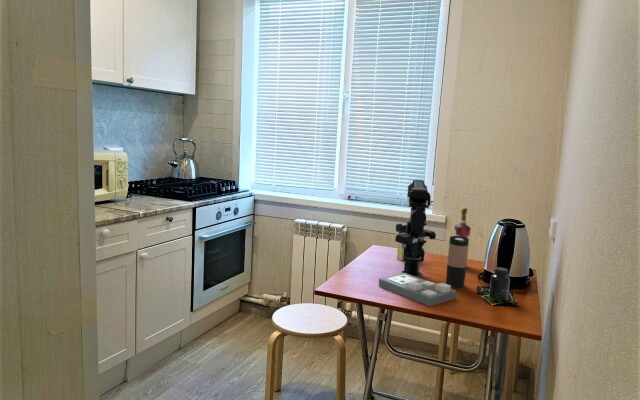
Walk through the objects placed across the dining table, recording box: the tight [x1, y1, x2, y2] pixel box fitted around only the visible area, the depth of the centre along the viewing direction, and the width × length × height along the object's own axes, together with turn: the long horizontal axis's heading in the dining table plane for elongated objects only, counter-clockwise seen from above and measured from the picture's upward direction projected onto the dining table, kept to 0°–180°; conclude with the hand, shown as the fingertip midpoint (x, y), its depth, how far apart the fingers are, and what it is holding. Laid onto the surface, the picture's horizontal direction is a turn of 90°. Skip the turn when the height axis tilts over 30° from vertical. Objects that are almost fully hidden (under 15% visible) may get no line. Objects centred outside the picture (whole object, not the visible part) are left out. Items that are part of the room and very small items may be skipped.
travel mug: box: [445, 235, 470, 289], centre depth 192 cm, size 8×8×20 cm
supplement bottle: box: [488, 266, 511, 301], centre depth 179 cm, size 7×7×12 cm
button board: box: [378, 272, 457, 307], centre depth 183 cm, size 15×26×3 cm, turn 38°
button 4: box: [435, 282, 452, 293], centre depth 178 cm, size 4×4×3 cm
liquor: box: [453, 207, 471, 240], centre depth 219 cm, size 7×7×28 cm
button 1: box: [407, 281, 423, 291], centre depth 178 cm, size 4×4×3 cm
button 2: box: [421, 280, 437, 288], centre depth 183 cm, size 4×4×3 cm
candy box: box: [396, 233, 409, 261], centre depth 229 cm, size 9×4×15 cm, turn 113°
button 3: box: [421, 290, 437, 297], centre depth 173 cm, size 4×4×3 cm
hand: (414, 257), depth 191 cm, fingers closed
